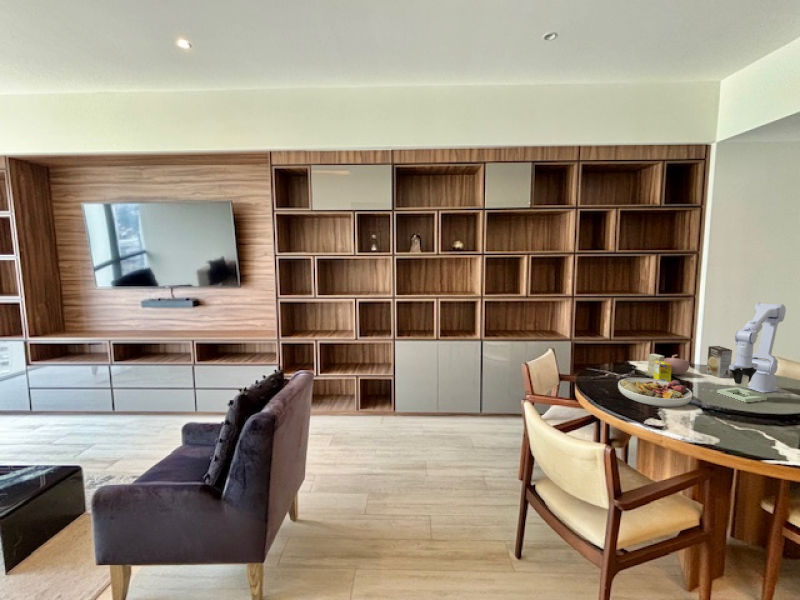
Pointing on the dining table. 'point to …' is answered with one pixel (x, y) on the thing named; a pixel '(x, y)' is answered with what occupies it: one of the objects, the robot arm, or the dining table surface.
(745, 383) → the white egg shape
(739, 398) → the holder
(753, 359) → the robot arm
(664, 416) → the dining table surface
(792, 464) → the dining table surface
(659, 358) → the skincare box
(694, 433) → the dining table surface
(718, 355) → the coffee box
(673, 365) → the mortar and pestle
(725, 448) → the dining table surface
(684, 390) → the bowl
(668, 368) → the supplement box
